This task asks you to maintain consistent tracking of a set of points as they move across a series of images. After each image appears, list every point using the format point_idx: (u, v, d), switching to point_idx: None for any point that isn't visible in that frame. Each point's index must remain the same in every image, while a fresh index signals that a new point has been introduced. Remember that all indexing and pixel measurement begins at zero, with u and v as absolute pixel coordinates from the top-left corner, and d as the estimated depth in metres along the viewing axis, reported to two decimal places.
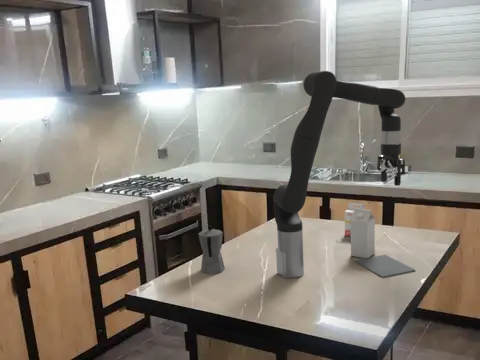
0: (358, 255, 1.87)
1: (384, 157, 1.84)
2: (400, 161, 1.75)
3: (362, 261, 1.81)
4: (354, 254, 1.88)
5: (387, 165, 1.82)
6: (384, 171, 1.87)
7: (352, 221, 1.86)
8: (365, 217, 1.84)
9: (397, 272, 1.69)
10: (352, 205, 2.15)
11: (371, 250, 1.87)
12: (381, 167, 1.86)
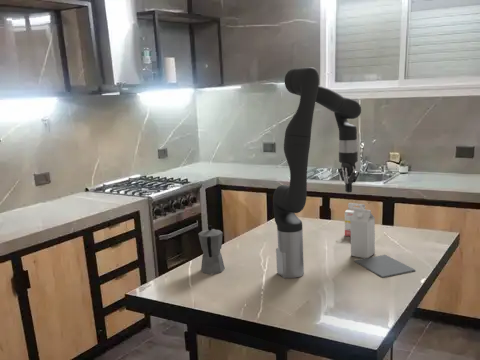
0: (358, 255, 1.87)
1: (342, 164, 1.95)
2: (354, 174, 1.87)
3: (362, 261, 1.81)
4: (354, 254, 1.88)
5: None
6: None
7: (352, 221, 1.86)
8: (365, 217, 1.84)
9: (397, 272, 1.69)
10: (352, 205, 2.15)
11: (371, 250, 1.87)
12: (344, 178, 1.94)
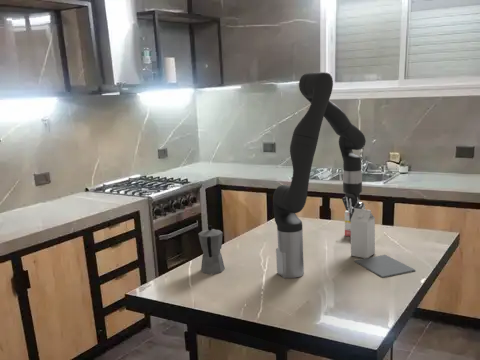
0: (358, 255, 1.87)
1: (346, 193, 1.94)
2: (359, 205, 1.87)
3: (362, 261, 1.81)
4: (354, 254, 1.88)
5: None
6: None
7: (352, 221, 1.86)
8: (365, 217, 1.84)
9: (397, 272, 1.69)
10: None
11: (371, 249, 1.87)
12: (348, 208, 1.94)
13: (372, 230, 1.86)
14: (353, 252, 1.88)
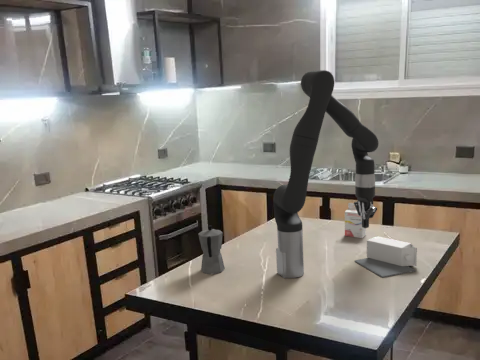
0: (368, 248, 1.84)
1: (358, 198, 1.86)
2: (372, 210, 1.78)
3: (362, 261, 1.81)
4: (368, 244, 1.83)
5: None
6: None
7: (400, 250, 1.73)
8: (406, 262, 1.74)
9: (397, 272, 1.69)
10: (352, 205, 2.15)
11: None
12: (360, 212, 1.86)
13: None
14: (369, 243, 1.83)
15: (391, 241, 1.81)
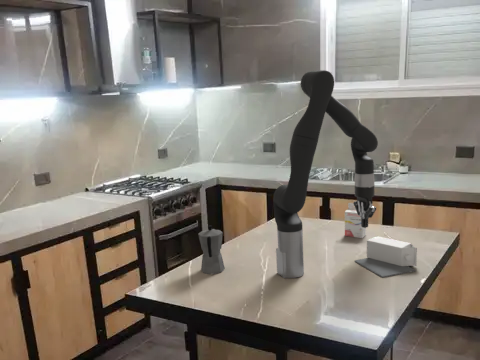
0: (368, 248, 1.84)
1: (357, 197, 1.86)
2: (371, 210, 1.79)
3: (362, 261, 1.81)
4: (368, 244, 1.83)
5: None
6: None
7: (400, 250, 1.73)
8: (406, 262, 1.74)
9: (397, 272, 1.69)
10: (352, 205, 2.15)
11: None
12: (359, 212, 1.86)
13: None
14: (369, 243, 1.83)
15: (391, 241, 1.81)
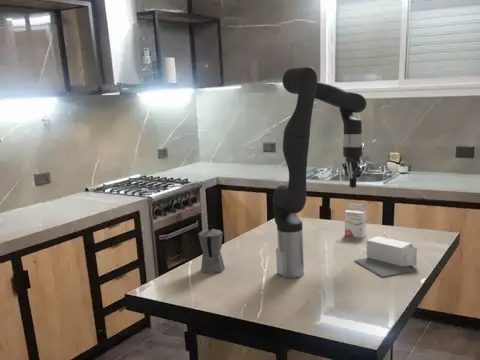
0: (368, 248, 1.84)
1: (346, 158, 1.92)
2: (359, 169, 1.84)
3: (362, 261, 1.81)
4: (368, 244, 1.83)
5: None
6: None
7: (400, 250, 1.73)
8: (406, 262, 1.74)
9: (397, 272, 1.69)
10: (352, 205, 2.15)
11: None
12: (348, 173, 1.91)
13: None
14: (369, 243, 1.83)
15: (391, 241, 1.81)
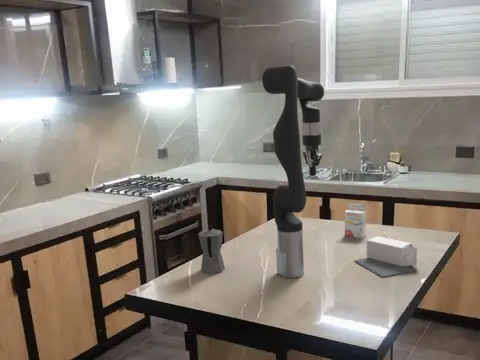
0: (368, 248, 1.84)
1: (306, 147, 1.94)
2: (317, 157, 1.86)
3: (362, 261, 1.81)
4: (368, 244, 1.83)
5: None
6: None
7: (400, 250, 1.73)
8: (406, 262, 1.74)
9: (397, 272, 1.69)
10: (352, 205, 2.15)
11: None
12: (307, 161, 1.93)
13: None
14: (369, 243, 1.83)
15: (391, 241, 1.81)
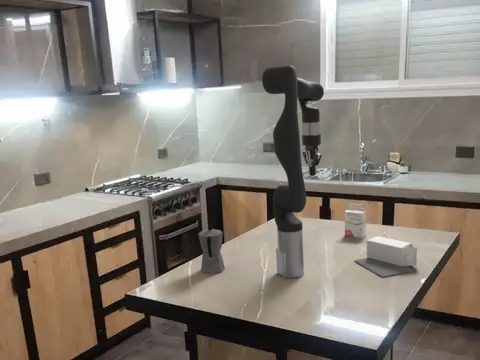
0: (368, 248, 1.84)
1: (305, 147, 1.94)
2: (317, 157, 1.86)
3: (362, 261, 1.81)
4: (368, 244, 1.83)
5: None
6: None
7: (400, 250, 1.73)
8: (406, 262, 1.74)
9: (397, 272, 1.69)
10: (352, 205, 2.15)
11: None
12: (307, 161, 1.93)
13: None
14: (369, 243, 1.83)
15: (391, 241, 1.81)
